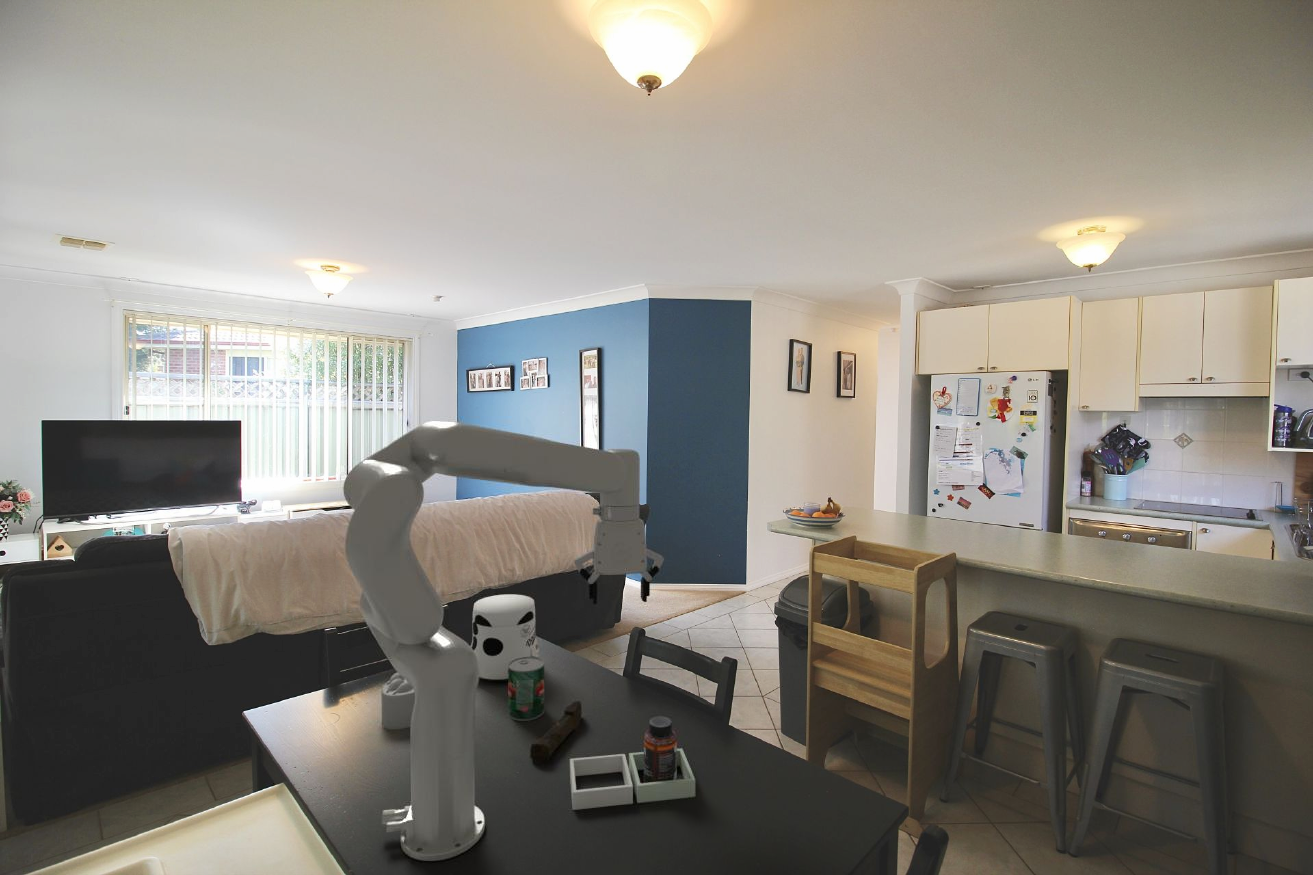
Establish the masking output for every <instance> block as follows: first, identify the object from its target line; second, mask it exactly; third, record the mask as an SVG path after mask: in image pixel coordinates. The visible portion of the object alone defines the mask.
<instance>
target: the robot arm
mask: <svg viewBox="0 0 1313 875" xmlns="http://www.w3.org/2000/svg"><path fill="white" fill-rule="evenodd" d="M640 460H641V459H640V453H639V452H638V451H637V450H634V449H628V448H612V449H606V450H604V449H597V448H592V447H587V446H581V445H577V444H576V445H575V444H570V443H566V442H565V443H564V442H558V441H556V440H551V439H546V438H542V437H539V436H533V435H529V434H528V435H527V434H523V433H516V432H510V431H507V430H506V431H505V430H501V429H497V428H495V429H494V428H491V427H484V426H479V425H474V424H468V423H463V422H457V421H442V420H441V421H439V420H437V421H436V420H435V421H434V420H433V421H427V422H423V423H421V424H419V425H418V426H416V427H415V428H414V427H413V429H411V430H409V431H408V432H406V433H404V434H403V435H401V436H400V437H397V439H395V440H394V441H392V442H390V443H388V444H387V445H386V446H384V447H382V448H381V449H379V450H377V451H375V452H374V453H372V454H371V455H369V456H367V457H366V458H364V459H363V460H362V461H360V462H359V463H357V464H355V466H354V467H353V468H352V469H351V470H350V471H348V474H347V475H346V477H345V479H344V482H343V489H342V490H343V491H342V492H343V496H344V499H345V501H346V502H347V504H348V505H349V507H350V508H351V509H352V510H354V511H353V513H352V515H351V517H350V520H349V523H348V526H347V529H346V533H345V534H346V535H345V545H344V547H345V548H344V549H345V554H346V560H347V563H348V566H349V567H350V570H351V572H352V574H353V576H354V578H355V580H356V581H357V584H358V585H359V587H360V589H361V595H360V597H359V598H360V601H359V606H360V607H359V608H360V612H361V614H362V617H363V619H364V622H365V623H366V625H367V627H368V628H369V630H370V632H371V633H372V635H373V636H374V638H375V640H376V641H377V643H378V645H379V647H380V648H381V650H382V651H383V653H384V655H385V657H386V658H387V659H388V661H389V662H390V664H391V665H392V667H393V668H394V670H395V671H396V673H397V672H398V673H399V674H400V675H401V676H402V677H403V678H404V679H405V680H406V681H408V683H409V684H410V685H411V686H412V687H413V688H414V691H415V703H414V708H413V712H412V717H411V727H409V728H410V730H409V731H410V738H409V739H410V741H409V742H410V805H405V806H404V808H400V809H398V808H397V809H396V808H394V809H384V810H382V816H381V824H382V825H386V830H385V831H386V833H391V832H399V831H401V832H400V847H401V850H402V851H403V852H404V853H405V855H407V857H410V858H412V859H415V860H418V861H423V862H435V861H443V860H444V861H445V860H448V859H451V858H453V857H456V856H459V855H460V854H462V853H465V852H466V851H468V850H469V849H471V848H472V847H473V846H474V845H475V844H476V843H478V841H479V840H480V839H481V838H482V836H483V834H484V832H485V828H486V827H485V826H486V822H485V821H486V818H485V814H484V813H483V811H482V810H481V809H480V808H479V807H478V806H476V804H475V802H476V801H475V796H476V795H475V791H476V790H475V785H476V784H475V783H476V782H475V781H476V780H475V778H476V777H475V776H476V775H475V774H476V772H475V769H476V768H475V767H476V766H475V760H476V759H475V758H476V757H475V751H476V750H475V713H476V712H475V711H476V710H475V709H476V699H477V691H478V686H479V682H480V678H479V674H480V668H479V662H478V658H477V656H476V654H475V652H474V651H473V649H472V648H471V645H469V644H468V642H466V641H465V640H464V639H463V638H461V637H460V636H457V635H456V634H455V633H454V632H451V631H450V630H448V629H447V628H445V627H444V626H443V625H442V624H443V620H444V606H443V603H442V599H441V597H440V596H439V593H438V592H437V590H436V589H435V587H434V586H433V584H432V582H431V581H430V579H429V576H428V575H427V573H426V572H425V570H424V568H423V566H422V564H421V562H420V561H419V559H418V557H417V554H416V552H415V550H414V548H413V545H412V542H411V531H412V527H413V523H414V521H415V519H416V518H417V515H418V513H419V512H420V509H421V507H422V505H423V502H424V496H425V490H424V489H425V488H424V485H423V484H424V482H426V481H427V480H429V479H430V478H431V477H433V476H434V475H436V474H439V475H444V476H449V477H455V478H462V479H469V480H478V481H488V482H497V483H503V484H510V485H519V486H525V487H537V488H555V489H564V490H572V491H577V492H587V493H588V492H589V493H595V494H599V495H600V496H599V497H600V499H599V500H600V503H599V505H598V506H596V507H593V508H592V516H594V515H595V516H598V517H599V519H596V524H595V530H594V536H593V546H592V548H593V549H591V550H590V551H587V552H586V553H583V554H582V555H580V556H578V557H576V558H574V560H573V562H574V565H575V567H576V568H577V570H578V572H579V574H580V576H581V577H583V579H584V580H586V581H587V583H588V599H589V600H591V602H592V605H597V604H598V582H597V579H598V578H600V575H602V576H603V575H604V576H611V575H613V576H614V575H634V574H635V575H637V574H640V575H641V576H642V577H641V578H640V599H641V601H642V602H644V603H647V602H648V599H647V598H648V597H650V595H651V588H650V587H651V581H652V579H653V578H654V577H655V576H656V575H657V574H658V573H659V571H660V569H661V566H662V565H663V563H664V562H665V561H664V560H665V557H663V556H662V555H661V554H658V553H657V552H654V551H653V550H650V549H648V548H647V536H646V528H645V523H644V520H643V519H641V518H640V494H641V493H640V491H641V488H640V482H641V481H640V480H641V477H640V476H641V472H640V471H641V468H640V467H641V466H640V464H641V461H640ZM648 558H649V559H651V560H653V564H652V566H651V567H649V569H647V568H648ZM590 560H592V565H593V568H592V570H590V572H589V571H588V570H587V569H586V567H585V566H584V564H585V563H586V562H588V561H590Z"/></svg>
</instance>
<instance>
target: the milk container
mask: <svg viewBox="0 0 1313 875" xmlns="http://www.w3.org/2000/svg"><path fill="white" fill-rule="evenodd" d="M471 625H472V626H471V627H472V640H471V644H470V647H471V648H472V649H473V651H474V652H475V654H476V656H477V658H478V662H479V668H480V674H479V679H481V680H483V681H489V682H508V664H509V663H510V662H511V661H512V660H514V659H517V658H521V657H537V658H540V656H539V655H540V650H539V649H540V648H539V644H538V639H537V635H536V607H535V600H534V599H533V598H532V597H531V596H527V595H523V594H510V593H509V594H506V593H505V594H498V595H492V596H487V597H483V598H480V599H478V600H477V601H476V602H474V604H473V610H472V624H471Z"/></svg>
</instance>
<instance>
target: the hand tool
mask: <svg viewBox="0 0 1313 875" xmlns="http://www.w3.org/2000/svg"><path fill="white" fill-rule="evenodd" d="M582 707H583V706H582V703H581V701H579V700H577V701H573V702H572V703H571V704H569V705H568V706H567V707H565V709H564V712H563V715H562V716H561V717H560V719H559V720H558V721H556V722H555V724H554V725H553V726H551V727H550V728H549V730H548V731H547V732H546V733H545V734H544V735H543V736H542V737H541V738H540V739H539V740H538V741H537V742H534V743H532V744H531V746H530V751H529V753H530V756H529V757H530V759H531V760H532V762H535V763H538V764H547V763H548V762H549V760H550V759H551V757H552V755H553V753H554V752H555V750H557V748H558V747H559V746H560V744H562V743H563V741H564V740H565V739H566V738H567V736H568V735H569V734H570V733H571V732H573V731H575V730H577V729H578V727H579V724H580V722H581V720H582V710H583V709H582Z"/></svg>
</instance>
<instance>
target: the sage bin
mask: <svg viewBox="0 0 1313 875" xmlns="http://www.w3.org/2000/svg"><path fill="white" fill-rule="evenodd" d="M628 756H629V757H628V769H629V773H630V777H631V781H632V785H633V792H634V795H635V799H636V803H637V804H640V803H649V802H650V803H651V802H660V801H666V800H667V801H668V800H677V799H687V798H694V797H696V778H695V775H694V773H693V771H692V769H691V766H690V764H689V762H688V760H687V756H686V755H685V752H684V750H683V748H682V747H681V748H677V767H679V768H680V770H681V771H680V772H681V773H682V776H683V778H681V779H679V778H678V779H676V780H670V781H660V782H650V783H645V782H643V783H641V781H640V780H641V779H640V777H639V773H638V771H639V770H640V771H641V770H643V771H644V751H641V752H639V751H638V752H629V753H628Z"/></svg>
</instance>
